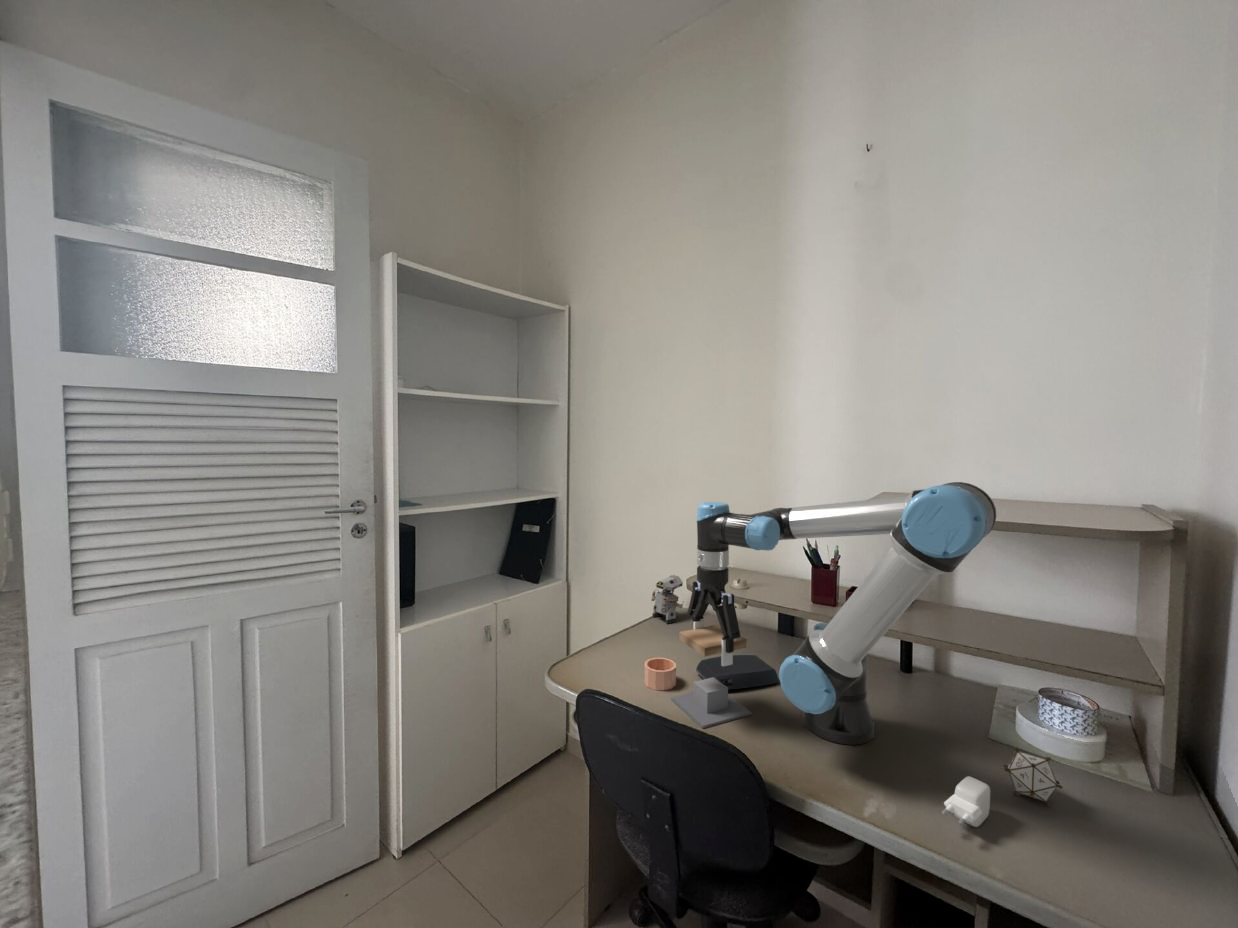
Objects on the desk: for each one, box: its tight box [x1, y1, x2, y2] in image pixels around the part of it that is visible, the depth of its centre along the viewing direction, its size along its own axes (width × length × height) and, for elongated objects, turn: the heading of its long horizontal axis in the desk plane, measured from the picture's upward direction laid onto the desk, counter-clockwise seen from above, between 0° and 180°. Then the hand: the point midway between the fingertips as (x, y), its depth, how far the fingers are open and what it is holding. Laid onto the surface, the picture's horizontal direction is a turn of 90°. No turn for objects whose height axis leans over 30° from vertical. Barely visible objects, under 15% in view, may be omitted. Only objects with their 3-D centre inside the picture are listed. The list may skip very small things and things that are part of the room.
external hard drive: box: [695, 653, 780, 690], centre depth 142 cm, size 13×19×4 cm
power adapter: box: [941, 775, 991, 828], centre depth 89 cm, size 11×5×6 cm, turn 126°
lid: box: [678, 623, 748, 657], centre depth 126 cm, size 11×12×2 cm
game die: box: [1002, 746, 1064, 808], centre depth 96 cm, size 9×8×10 cm
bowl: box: [643, 657, 677, 691], centre depth 139 cm, size 8×8×5 cm
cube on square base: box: [670, 677, 752, 729], centre depth 127 cm, size 14×14×6 cm
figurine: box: [651, 574, 684, 625], centre depth 187 cm, size 9×12×15 cm
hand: (712, 655), depth 126 cm, fingers closed on lid, 11 cm apart
